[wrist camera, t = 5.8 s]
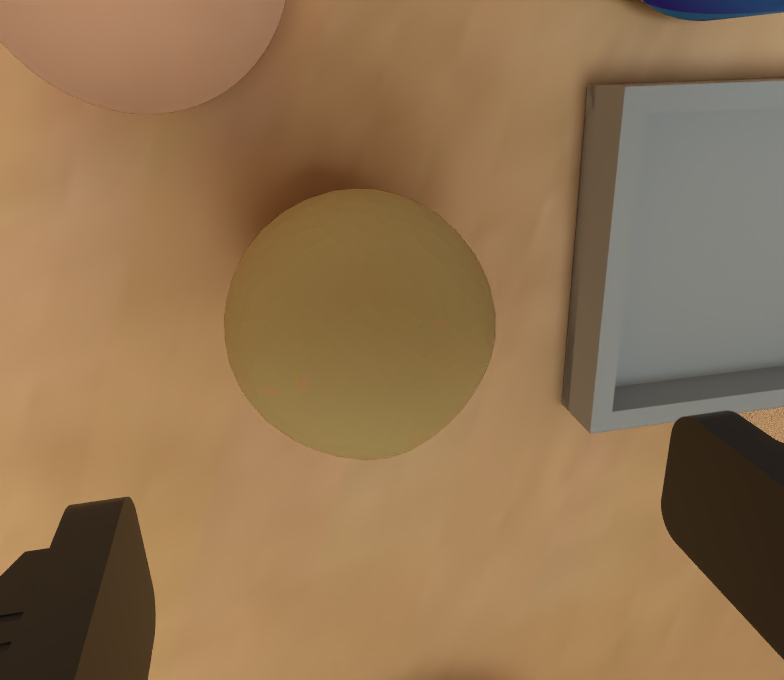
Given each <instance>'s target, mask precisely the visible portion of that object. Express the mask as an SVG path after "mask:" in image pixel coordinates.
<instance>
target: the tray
mask: <svg viewBox="0 0 784 680" xmlns="http://www.w3.org/2000/svg"><path fill="white" fill-rule="evenodd" d="M562 404H563V406H564V407H565V408H566V409H567V410H568V411H569V412H570V413H571V414H572V415H573V416H574V417H575V418H576V419H577V420H578V421H579V422H580V423H581V424H582V426H583V427H584V428H585V429H586V430H587V431H588V432H589V433H597V432H605V431H612V430H619V429H626V428H633V427H641V426H648V425H655V424H662V423H670V422H676V421H677V420H678V419H679V418H681V417H684V416H691V415H698V414H705V413H711V412H718V411H725V410H728V411H733V412H735V413H742V412H749V411H756V410H763V409H771V408H778V407H784V78H766V79H740V80H713V81H687V82H661V83H634V84H608V85H587V97H586V110H585V122H584V135H583V147H582V159H581V172H580V184H579V197H578V209H577V221H576V234H575V246H574V259H573V271H572V283H571V296H570V308H569V321H568V333H567V345H566V358H565V370H564V383H563V395H562Z"/></svg>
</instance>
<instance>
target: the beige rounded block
mask: <svg viewBox="0 0 784 680" xmlns="http://www.w3.org/2000/svg"><path fill="white" fill-rule="evenodd" d="M285 2H286V0H0V41H1V42H2V43H3V44H4V46H5V47H6V48H7V49H8V50H9V51H10V52H11V53H12V54H13V55H14V56H15V57H16V58H17V59H18V60H19V61H21V62H22V63H23V64H24V65H25V66H26V67H27V68H28V69H30V70H31V71H32V72H34V73H35V74H36V75H38V76H39V77H41V78H42V79H43V80H45V81H46V82H48V83H49V84H50V85H52V86H54V87H56V88H58V89H59V90H61V91H63V92H65V93H67V94H68V95H70V96H72V97H75V98H77V99H80V100H82V101H84V102H87V103H89V104H92V105H95V106H99V107H102V108H106V109H109V110H113V111H120V112H126V113H133V114H160V113H169V112H176V111H180V110H184V109H188V108H192V107H195V106H197V105H200V104H202V103H204V102H207V101H209V100H212V99H213V98H215V97H217V96H218V95H220V94H222V93H223V92H225V91H227V90H228V89H230V88H231V87H232V86H233V85H235V84H236V83H237V82H238V81H239V80H241V79H242V78H243V77H244V76H245V75H246V74H247V73H248V72H249V71H250V70H251V68H252V67H253V66H254V65H255V64H256V63H257V61H258V60H259V59H260V57H261V56H262V54H263V53H264V52H265V50H266V49H267V47H268V45H269V43H270V41H271V39H272V37H273V35H274V34H275V32H276V30H277V27H278V24H279V21H280V19H281V16H282V13H283V10H284V6H285Z"/></svg>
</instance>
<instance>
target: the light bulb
mask: <svg viewBox="0 0 784 680" xmlns="http://www.w3.org/2000/svg"><path fill="white" fill-rule="evenodd" d="M224 328H225V342H226V348H227V353H228V358H229V362H230V366H231V368H232V370H233V373H234V375H235V377H236V379H237V382H238V384H239V386H240V388H241V390H242V391H243V393H244V394H245V396H246V397H247V399H248V400H249V401H250V403H251V404H252V405H253V406H254V407H255V409H256V410H257V411H258V412H259V413H260V414H261V415H262V416H263V417H264V419H265V420H266V421H268V422H269V423H270V424H272V425H273V426H274V427H276V428H277V429H278V430H280V431H281V432H282V433H284V434H285V435H287V436H288V437H290V438H292V439H294V440H295V441H297V442H299V443H301V444H303V445H305V446H307V447H310V448H312V449H314V450H318V451H321V452H324V453H327V454H331V455H334V456H338V457H344V458H352V459H360V460H375V459H386V458H389V457H393V456H396V455H399V454H402V453H405V452H407V451H410V450H412V449H413V448H415V447H417V446H418V445H420V444H422V443H424V442H425V441H427V440H429V439H430V438H432V437H433V436H434V435H435V434H436V433H438V432H439V431H440V430H441V429H443V428H444V427H445V426H446V425H447V424H449V423H450V422H451V421H452V420H453V418H454V417H455V416H456V415H457V414H458V413H459V412H460V411H461V410H462V409H463V408H464V406H465V405H466V403H467V402H468V400H469V399H470V397H471V396H472V395H473V393H474V392H475V390H476V388H477V386H478V385H479V383H480V381H481V379H482V378H483V376H484V374H485V371H486V369H487V367H488V364H489V361H490V358H491V355H492V350H493V346H494V341H495V309H494V304H493V300H492V295H491V291H490V286H489V284H488V281H487V278H486V276H485V274H484V271H483V269H482V267H481V265H480V263H479V261H478V259H477V257H476V255H475V254H474V253H473V251H472V250H471V249H470V247H469V246H468V245H467V244H466V242H465V241H464V240H463V238H462V237H461V236H460V235H459V233H458V232H457V231H456V230H455V229H454V228H453V227H452V226H451V225H449V224H448V223H447V222H446V221H445V220H444V219H443V218H441V217H440V216H439V215H438V214H437V213H435V212H433V211H431V210H430V209H428V208H426V207H424V206H423V205H421V204H419V203H417V202H415V201H413V200H411V199H408V198H406V197H403V196H401V195H398V194H394V193H389V192H384V191H379V190H375V189H344V190H336V191H330V192H327V193H324V194H321V195H318V196H315V197H311V198H308V199H306V200H304V201H302V202H300V203H298V204H297V205H295V206H293V207H291V208H290V209H288V210H286V211H284V212H282V213H281V214H280V215H279V216H278V217H277V218H275V219H274V220H273V221H272V222H271V223H270V224H268V225H267V226H266V227H265V228H264V229H263V230H262V231H261V232H260V233H259V234H258V235H257V237H256V238H255V239H254V240H253V242H252V243H251V244H250V245H249V247H248V249H247V250H246V252H245V254H244V255H243V257H242V258H241V260H240V262H239V264H238V266H237V269H236V271H235V274H234V276H233V279H232V282H231V285H230V289H229V292H228V296H227V300H226V308H225V315H224Z"/></svg>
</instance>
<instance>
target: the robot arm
mask: <svg viewBox="0 0 784 680" xmlns="http://www.w3.org/2000/svg"><path fill="white" fill-rule="evenodd" d="M661 510H662V516H663V520H664V523H665V526H666V528H667V530H668V532H669V534H670V536H671V537H672V539H673V540H674V541H675V543H676V544H677V545H678V546H679V547H680V548H681V549H682V550H683V551H684V552H685V553H686V555H687V556H688V557H689V558H690V559H691V560H692V561H693V562H694V563H695V564H696V565H697V566H698V568H699V569H700V570H701V571H702V572H703V573H704V574H705V575H706V576H707V577H708V578H709V579H710V581H711V582H712V583H713V584H714V585H715V586H716V587H717V588H718V589H719V590H720V591H721V592H722V594H723V595H724V596H725V597H726V598H727V599H728V600H729V601H730V602H731V603H732V604H733V605H734V606H735V608H736V609H737V610H738V611H739V612H740V613H741V614H742V615H743V616H744V617H745V618H746V619H747V621H748V622H749V623H750V624H751V625H752V626H753V627H754V628H755V629H756V630H757V631H758V632H759V634H760V635H761V636H762V637H763V638H764V639H765V640H766V641H767V642H768V643H769V644H770V645H771V646H772V648H773V649H774V650H775V651H776V652H777V653H778V654H779V655H780V656H781V657H782V658H783V659H784V443H782V442H779V441H777V440H775V439H774V438H772V437H771V436H769V435H768V434H766V433H765V432H763V431H762V430H760V429H759V428H757V427H756V426H755V425H753V424H752V423H750V422H749V421H747V420H746V419H744V418H743V417H741V416H740V415H739V414H737V413H735V412H733V411H728V410H725V411H718V412H711V413H705V414H698V415H691V416H684V417H681V418H679V419H678V420H677V421H676V422H675V424H674V426H673V428H672V432H671V439H670V445H669V452H668V458H667V465H666V472H665V478H664V485H663V492H662V498H661ZM154 635H155V598H154V590H153V584H152V580H151V575H150V571H149V567H148V562H147V558H146V553H145V549H144V544H143V540H142V535H141V531H140V526H139V522H138V518H137V513H136V509H135V506H134V503H133V501H132V499H131V498H130V497H122V498H115V499H109V500H102V501H95V502H88V503H81V504H74V505H69V506H68V507H67V508H66V509H65V511H64V514H63V516H62V518H61V521H60V523H59V526H58V528H57V531H56V533H55V536H54V538H53V541H52V543H51V546H50V548H47V549H40V550H34V551H27V552H24V553H23V554H22V555H21V556H20V557H19V558H18V559H17V560H16V561H15V562H14V563H13V564H12V565H11V566H10V567H9V568H8V569H7V570H6V571H5V572H4V573H3V574H2V575H1V576H0V680H148V674H149V668H150V662H151V655H152V649H153V642H154Z"/></svg>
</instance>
